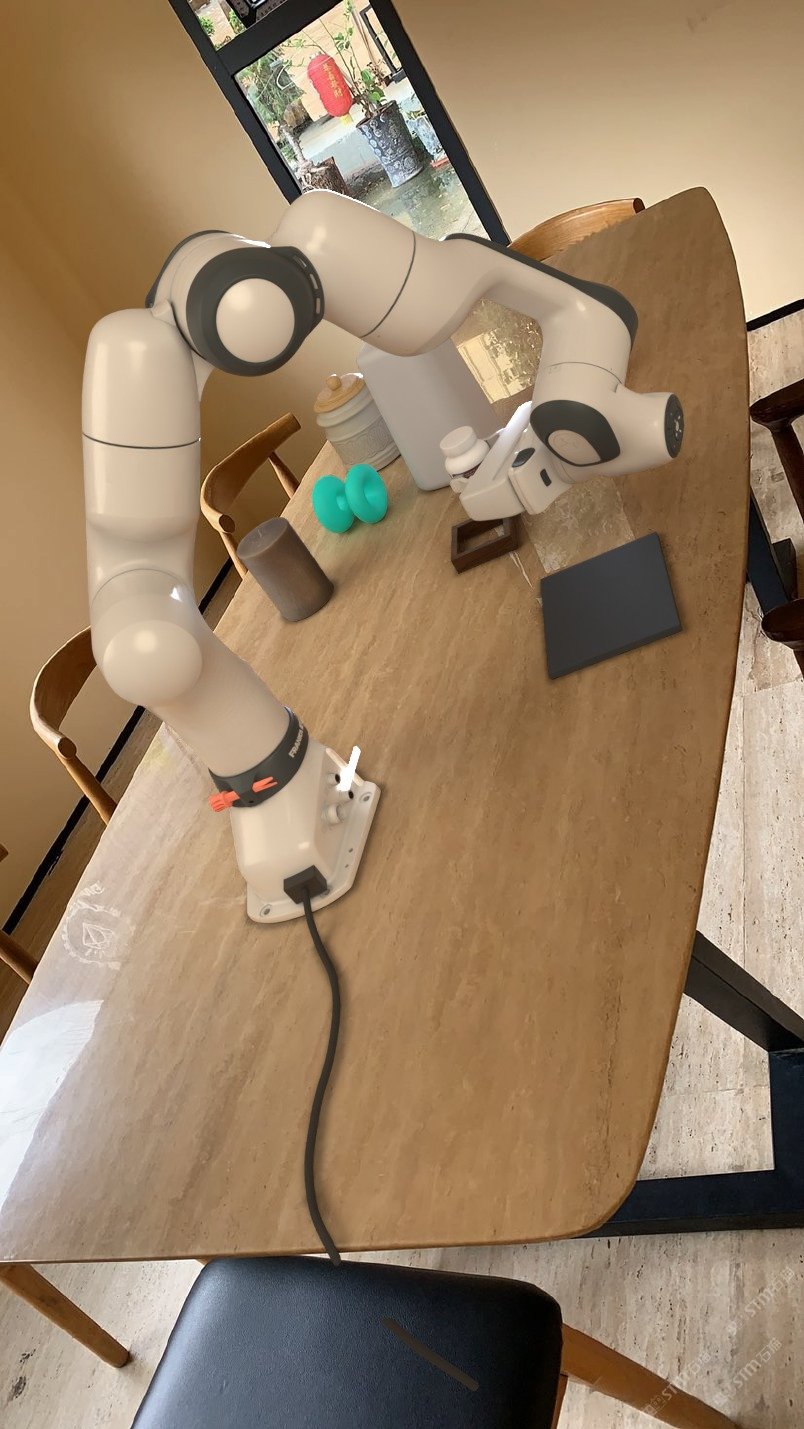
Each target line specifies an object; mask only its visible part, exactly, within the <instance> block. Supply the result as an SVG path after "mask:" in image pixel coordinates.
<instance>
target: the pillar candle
mask: <svg viewBox="0 0 804 1429" xmlns="http://www.w3.org/2000/svg"><path fill="white" fill-rule="evenodd" d="M236 548H237V549H236V551H235V554H236V556H237V557H238V559H239V560H240V561H241V563H242V564H243V565H244V566H245V567H246V569H247V570H248V571H249V573H250V574H251V576H252V577H253V578H254V579H255V581H256V582H257V583H258V585H259V586H260V588H261V589H262V590H263V592H264V593H265V594H266V595H267V597H268V598H269V600H270V601H271V602H272V604H273V605H274V606H275V607H276V609H277V610H278V611H279V613H280V614H281V615H282V616H283V618H284V619H285V620H287V621H289V622H297V621H298V622H299V621H301V620H304V619H306V618H309V617H310V616H313V615H314V614H315V613H316V612H318V611H319V610H320V609H321V608H323V606H324V605H325V604H326V603H327V602H328V601H329V600H330V599H331V597H332V596H333V594H334V590H335V586H334V583H333V582H332V581H331V580H330V578H329V577H328V576H327V574H326V573H325V571H324V570H323V569H322V567H321V565H320V564H319V563H318V561H317V560H316V559H315V557H314V556H313V554H312V553H311V551H310V550H309V548H308V546H306V544H305V543H304V542H303V540H302V538H301V537H300V536H299V534H298V533H297V531H296V530H295V529H294V527H293V525H292V524H291V523H290V522H289V520H288V519H287V518H286V517H283V516H276V517H272V518H270V519H268V520H266V521H264V522H262V523H260V524H259V525H257V526H256V527H254V528H253V529H252V530H251V531H249V532H248V533H247V534H246V535H245V536H244V537H243V538H242V539H241V540H240V542H239V543H238V545H237V547H236Z"/></svg>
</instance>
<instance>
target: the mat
mask: <svg viewBox="0 0 804 1429" xmlns="http://www.w3.org/2000/svg"><path fill="white" fill-rule="evenodd" d="M539 581H540V590H541V591H540V592H541V601H542V602H541V603H542V612H543V614H542V615H543V624H544V626H543V627H544V634H545V635H544V636H545V648H546V660H547V670H548V675H549V678H551V680H555V679H557V678H561V677H563V676H565V675H568V674H570V673H573V672H576V671H578V670H579V671H580V670H582V669H584V668H587V667H589V666H592V665H595V664H597V663H601V662H603V661H605V660H608V659H610V658H613V657H616V656H618V655H621V654H624V653H627V652H630V651H632V650H634V649H637V648H639V647H643V646H645V645H647V644H650V643H653V642H657V641H658V640H661V639H664V638H667V637H669V636H672V635H675V634H677V633H679V632H682V631H683V630H684V628H683V626H682V621H681V618H680V614H679V610H678V606H677V603H676V598H675V594H674V590H673V587H672V583H671V579H670V575H669V571H668V567H667V563H666V559H665V555H664V552H663V547H662V544H661V540H660V536H659V534H658V532H657V531H653V532H651V533H648V534H646V535H644V536H641V537H639V538H637V539H634V540H632V541H629V542H626V543H625V544H622V545H620V546H617V547H615V548H612V549H610V550H607V551H605V552H601V553H600V554H598V555H595V556H592V557H591V558H588V559H585V560H583V561H581V562H579V563H576V564H573V565H571V566H568V567H566V568H564V569H562V570H559V571H557V572H554V573H552V574H550V575H547V576H544V577H542V578H540V580H539Z"/></svg>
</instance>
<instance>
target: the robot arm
mask: <svg viewBox="0 0 804 1429" xmlns="http://www.w3.org/2000/svg"><path fill="white" fill-rule="evenodd" d="M480 300H486V301H488V302H491V303H494V304H497V305H499V306H501V307H504V308H506V309H508V310H511V311H513V312H516V313H518V314H521V315H524V316H526V317H527V318H530V319H533V320H534V321H536V322H537V323H538V325H539V328H540V330H541V334H542V348H541V353H540V360H539V364H538V370H537V374H536V375H537V376H536V378H535V382H534V386H533V392H532V398H531V400H530V401H528V402H525V403H523V404H522V405H521V406H519V407H518V408H517V410H516V411H515V412H514V414H513V415H512V417H511V419H510V420H509V421H508V423H507V424H506V426H505V429H501V430H500V431H498V432H496V433H495V434H493V435H491V436H489V437H488V438H484V439H480V440H483V441H485V442H486V443H487V444H488V446H489V448H490V449H491V450H490V451H489V453H488V454H487V456H486V457H485V459H484V460H483V462H482V463H481V465H480V466H479V467H478V469H477V470H476V472H475V473H474V475H473V476H470V477H469V479H466V476H465V474H464V473H463V474H459V475H455V476H454V477H453V479H452V480H451V482H450V485H449V486H450V488H451V489H452V491H453V492H454V493H455V494H459V497H458V499H459V502H460V503H461V506H462V508H463V509H464V511H465V513H466V514H467V515H468V517H469V519H471V518H472V519H473V520H475V521H485V520H494V519H500V518H506V517H511V516H514V515H515V516H517V515H519V514H521V513H522V512H524V511H525V510H526V512H527V513H528V515H530V516H531V515H538V514H542V513H543V512H544V511H545V510H546V509H547V508H548V507H549V506H550V505H552V503H553V502H554V501H555V500H556V499H558V498H559V497H560V496H561V495H562V494H564V493H566V492H567V491H569V490H570V489H572V487H573V486H574V485H576V484H583V483H587V482H589V481H591V480H593V479H595V478H597V477H606V478H617V477H618V478H619V477H623V476H629V475H634V474H639V473H643V472H647V471H651V470H654V469H657V468H661V467H663V466H665V465H667V464H670V463H672V462H673V461H674V460H675V459H676V458H677V457H678V455H679V453H680V451H681V448H682V443H683V439H684V432H685V420H684V416H685V415H684V410H683V406H682V402H681V401H680V400H679V397H678V396H677V394H675V393H674V392H670V391H669V392H668V391H657V392H655V391H654V392H644V393H639V392H637V391H633V390H632V389H630V388H627V387H626V386H625V385H626V378H627V373H628V368H629V367H628V366H629V360H630V356H631V354H632V352H633V347H634V344H635V339H636V336H637V333H638V328H639V317H638V316H639V315H638V314H637V312H636V310H635V308H634V306H633V305H632V303H631V302H630V301H629V300H628V298H626V296H625V295H624V294H622V293H621V292H620V291H618V290H617V289H616V288H614V287H611V286H609V285H606V284H604V283H600V282H595V281H591V280H588V279H587V280H586V279H581V278H579V277H575V276H573V275H570V274H568V273H566V272H563V271H561V270H559V269H557V268H555V267H552V266H550V265H548V264H546V263H544V262H541V261H539V260H538V259H534V258H532V257H530V256H528V255H525V254H524V253H521V252H519V251H517V250H514V249H512V248H510V247H508V246H506V245H503V244H500V243H498V242H496V241H493V240H490V239H488V238H486V237H482V236H479V235H476V234H471V233H468V232H467V233H465V232H454V233H450V234H446V235H445V236H443V237H442V238H440V239H435V238H430V237H427V236H425V235H422V234H420V233H419V232H416V231H415V230H413V229H411V228H410V227H408V226H406V224H403V223H402V222H400V221H398V220H397V219H395V218H393V217H391V216H390V215H387V214H385V213H384V212H382V211H380V210H378V209H376V208H374V207H372V206H370V205H367V204H365V203H363V202H361V201H359V200H357V199H353V198H352V197H349V196H347V195H343V194H341V193H338V192H336V191H332V190H329V189H324V188H318V189H312V190H309V191H307V192H305V193H303V194H301V195H300V196H298V197H297V198H296V199H294V201H292V203H290V205H289V206H288V207H287V208H286V210H285V211H284V213H283V215H282V216H281V217H280V220H279V222H278V224H277V227H276V229H275V231H273V232H272V233H271V235H269V236H268V237H267V238H265V239H263V240H259V241H255V240H254V241H253V240H251V239H249V238H246V237H245V236H241V235H239V234H235V233H232V232H230V231H225V230H220V229H207V230H202V231H198V232H195V233H193V234H191V235H188V236H186V237H185V238H183V239H182V240H181V241H180V242H179V243H178V244H177V245H176V246H174V248H173V249H172V250H171V252H170V253H169V254H168V256H167V258H166V260H165V262H164V264H163V265H162V267H161V269H160V271H159V273H158V275H157V276H156V279H155V280H154V282H153V284H152V286H151V288H150V289H149V290H148V293H147V295H146V296H145V299H144V307H145V308H125V309H120V310H117V311H114V312H111V313H108V314H107V315H104V316H103V317H102V318H101V319H99V320H97V321H96V323H95V324H94V325H93V327H92V328H91V331H90V333H89V336H88V339H87V345H86V346H87V347H86V352H85V357H84V358H85V359H84V367H83V375H82V376H83V377H82V388H81V439H82V441H81V442H82V443H81V444H82V460H83V462H82V463H83V485H84V486H83V488H84V507H85V508H84V510H85V512H84V513H85V540H86V541H85V542H86V564H87V566H86V569H87V595H88V611H89V622H90V623H89V624H90V636H91V649H92V654H93V659H94V661H95V663H96V665H97V667H98V669H99V671H100V673H101V674H102V676H103V678H104V680H105V681H106V683H107V684H108V686H109V687H110V689H111V690H112V691H113V692H114V693H115V694H116V695H117V696H118V697H120V698H121V699H123V700H124V701H126V702H128V703H131V704H134V705H137V706H141V707H143V708H144V709H146V710H147V711H148V712H149V713H151V714H153V715H154V716H155V717H157V718H158V719H159V720H161V721H162V722H163V723H165V724H166V725H167V726H168V727H169V728H171V730H173V731H174V732H175V733H176V734H177V735H178V736H179V737H180V739H181V740H182V741H183V742H184V743H185V744H186V745H187V746H188V748H190V749H191V751H193V752H194V754H195V755H196V756H197V757H198V758H199V760H201V762H203V764H204V765H205V766H206V767H207V770H208V773H209V775H210V778H211V779H212V783H213V784H214V786H215V788H216V789H217V791H218V792H219V793H215V794H212V795H210V796H209V801H208V802H209V805H210V808H211V809H212V811H214V812H215V813H221V812H222V811H224V810H225V809H227V808H228V812H229V822H230V828H231V832H232V837H233V838H232V839H233V846H234V850H235V851H234V852H235V857H236V864H237V868H238V870H239V872H240V874H241V876H242V878H243V879H244V880H245V882H246V911H247V912H246V913H247V916H248V917H249V918H250V920H251V921H252V922H256V923H258V924H274V923H275V924H276V923H281V922H286V921H290V920H294V919H297V918H300V917H303V916H305V920H306V924H307V927H308V930H309V934H310V936H311V939H312V942H313V944H314V947H315V950H316V952H317V954H318V955H319V958H320V960H321V962H322V964H323V966H324V968H325V970H326V973H327V975H328V978H329V983H330V989H331V996H332V997H331V998H332V1010H331V1012H332V1013H331V1023H330V1031H329V1037H328V1045H327V1050H326V1054H325V1059H324V1062H323V1066H322V1069H321V1073H320V1076H319V1080H318V1083H317V1085H316V1086H317V1087H316V1089H315V1094H314V1096H313V1102H312V1106H311V1111H310V1117H309V1123H308V1129H307V1134H306V1141H305V1150H304V1164H303V1165H304V1166H303V1170H304V1171H303V1172H304V1173H303V1174H304V1188H305V1195H306V1202H307V1207H308V1212H309V1216H310V1219H311V1222H312V1224H313V1226H314V1229H315V1231H316V1233H317V1236H318V1237H319V1239H320V1242H321V1244H322V1246H323V1247H324V1249H325V1251H326V1253H327V1256H328V1257H329V1259H330V1261H331V1264H333V1265H334V1267H338V1266H339V1265H340V1264H341V1261H342V1257H341V1254H340V1252H339V1251H338V1250H339V1249H337V1247H336V1245H335V1242H334V1241H333V1239H332V1237H331V1234H330V1232H329V1231H328V1229H327V1227H326V1224H325V1222H324V1220H323V1218H322V1215H321V1212H320V1209H319V1206H318V1201H317V1196H316V1191H315V1190H316V1188H315V1180H314V1157H315V1147H316V1140H317V1133H318V1128H319V1122H320V1114H321V1108H322V1104H323V1100H324V1095H325V1093H326V1089H327V1085H328V1082H329V1079H330V1075H331V1072H332V1068H333V1065H334V1061H335V1056H336V1052H337V1044H338V1038H339V1032H340V1031H339V1030H340V1022H341V993H340V985H339V980H338V975H337V971H336V969H335V967H334V965H333V963H332V961H331V959H330V957H329V955H328V953H327V951H326V949H325V946H324V944H323V942H322V938H321V937H320V933H319V931H318V928H317V925H316V922H315V918H314V913H313V912H316V911H318V910H321V909H323V908H324V907H327V906H329V905H330V904H332V903H333V902H335V901H336V900H338V899H339V898H341V897H342V896H343V895H345V894H346V893H347V892H348V891H349V890H350V889H351V888H352V887H353V885H354V883H355V880H356V876H357V873H358V870H359V867H360V863H361V860H362V856H363V853H364V851H365V847H366V843H367V840H368V837H369V833H370V829H371V828H372V823H373V820H374V817H375V813H376V810H377V807H378V804H379V801H380V797H381V793H382V790H381V788H380V787H379V786H378V785H377V784H376V783H375V782H372V781H369V780H365V779H363V778H361V776H359V775H358V773H357V772H356V771H355V770H356V768H357V763H358V760H359V757H360V754H361V750H360V748H359V747H358V746H357V745H356V746H353V750H352V754H351V756H350V759H349V760H350V761H349V763H347V762H346V761H345V760H344V759H343V758H342V757H341V756H340V755H339V754H338V753H337V752H336V751H335V750H334V749H333V748H331V747H329V746H328V745H325V744H324V743H321V742H320V741H319V740H317V739H315V738H313V737H312V736H311V735H309V731H308V729H307V727H306V725H304V723H303V722H302V720H301V718H300V717H299V716H298V715H297V714H296V713H295V712H294V711H292V710H291V709H290V707H288V706H286V705H284V704H282V703H281V701H280V700H279V699H278V697H277V696H276V695H275V694H274V693H273V691H272V690H271V689H270V688H269V687H268V685H267V684H266V683H265V681H263V679H262V678H261V677H260V675H259V674H258V673H257V671H255V669H254V668H253V667H252V666H251V664H250V663H249V662H248V661H247V660H245V659H243V658H241V657H239V656H238V655H237V654H236V653H235V652H234V651H233V650H232V649H230V647H228V645H226V644H225V642H224V641H223V640H221V639H220V638H219V637H218V636H217V635H216V634H215V632H214V631H213V630H212V629H211V628H210V627H209V625H208V623H207V622H206V620H205V619H204V617H203V615H202V613H201V611H200V609H199V607H198V605H197V600H196V594H195V588H194V561H195V550H196V549H195V548H196V537H197V530H198V524H199V519H200V514H201V509H200V506H201V406H200V405H201V404H200V403H202V398H203V392H204V388H205V385H206V383H207V381H208V379H209V377H210V375H211V374H212V372H213V371H214V370H215V369H218V370H219V371H222V372H224V373H227V374H230V375H234V376H238V377H246V378H253V377H254V378H255V377H261V376H266V375H269V374H271V373H274V372H276V371H278V370H279V369H280V368H282V367H283V366H285V365H286V364H287V363H288V362H290V360H292V358H293V357H294V356H295V354H296V353H298V351H299V349H300V348H301V346H302V345H303V344H304V341H305V340H306V339H307V337H309V335H310V334H311V333H312V332H313V331H314V330H315V329H316V328H317V326H318V325H319V324H320V323H321V322H322V321H323V320H324V321H327V322H329V323H331V324H333V325H334V326H336V327H338V328H340V329H342V330H344V331H346V332H347V333H349V334H350V335H352V336H354V337H356V338H358V339H360V340H361V341H363V342H364V343H365V342H366V343H368V344H370V345H372V346H374V347H375V348H377V349H379V350H382V351H384V352H386V353H389V354H392V355H396V356H400V357H412V356H418V355H421V354H425V353H427V352H429V351H431V350H433V349H435V348H437V347H438V346H440V345H441V344H442V343H444V342H445V341H446V340H448V339H449V338H452V336H453V335H454V334H455V333H456V332H457V331H458V330H460V328H461V327H462V326H463V324H464V323H465V322H466V320H467V319H468V317H470V315H471V313H472V311H473V310H474V309H475V308H476V306H477V304H478V303H479V302H480ZM460 492H462V493H461V494H460ZM380 1322H381V1323H382V1324H383V1325H384V1326H386V1328H387V1329H389V1330H390V1331H391V1332H392V1333H393V1334H394V1335H395V1336H396V1337H397V1338H399V1340H401V1341H402V1342H403V1343H405V1345H406V1346H408V1347H409V1348H410V1349H412V1350H413V1351H415V1352H416V1353H417V1354H418V1355H420V1356H421V1357H423V1358H424V1359H426V1361H428V1362H430V1363H431V1364H432V1365H434V1366H436V1367H437V1368H438V1369H440V1370H442V1371H443V1372H445V1373H446V1374H447V1375H449V1376H451V1377H452V1378H454V1379H455V1380H457V1381H458V1382H460V1383H461V1384H462V1385H464V1386H465V1387H467V1388H469V1390H470V1391H472V1392H474V1391H476V1390H477V1389H478V1387H479V1385H478V1384H479V1383H478V1382H477V1381H476V1380H474V1379H473V1378H472V1377H470V1376H469V1375H468V1374H467V1373H465V1372H464V1371H462V1370H461V1369H459V1368H458V1367H457V1366H455V1365H453V1364H452V1363H450V1362H449V1361H447V1360H446V1359H444V1358H443V1357H441V1356H440V1355H439V1354H437V1353H436V1352H434V1351H432V1350H431V1349H430V1348H428V1346H426V1345H424V1344H423V1343H422V1342H421V1341H419V1340H418V1339H417V1338H415V1337H414V1336H413V1335H412V1334H411V1333H409V1332H408V1331H407V1330H406V1329H405V1328H404V1327H402V1326H401V1325H400V1324H399V1323H398V1322H397V1321H396V1320H395V1319H394V1318H393V1317H391V1318H384V1319H380Z"/></svg>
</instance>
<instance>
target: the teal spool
mask: <svg viewBox="0 0 804 1429" xmlns="http://www.w3.org/2000/svg"><path fill="white" fill-rule="evenodd" d="M344 480H345V481H343V480H342V479H341V478H339V477H337V476H335V475H331V474H326V475H325V474H324V475H323V476H321V477H319V478H318V479H317V480H316V481H315V483H314V485H313V488H312V493H311V501H312V507H313V508H312V509H313V510H314V511H313V512H314V514H315V516H316V518H317V520H318V521H319V523H320V524H321V526H322V527H323V528H325V530H327V531H328V532H330V533H332V534H343V533H346V532H347V531H348V530H349V529H350V528H351V527H352V525H353V523H354V521H355V517H356V518H358V519H359V520H360V521H361V522H363V523H367V524H376V523H379V522H380V521H381V520H383V518H384V517H385V515H386V513H387V510H388V505H389V504H388V503H389V496H388V492H387V488H386V484H385V483H384V480H383V478H382V476H381V475H380V474H379V472H378V471H376V470H375V469H374V468H372V467H371V466H369V465H366V464H358V465H355V466H354V467H352V468H351V469H350V470H349V471H347V474H346V477H345V479H344Z"/></svg>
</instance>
